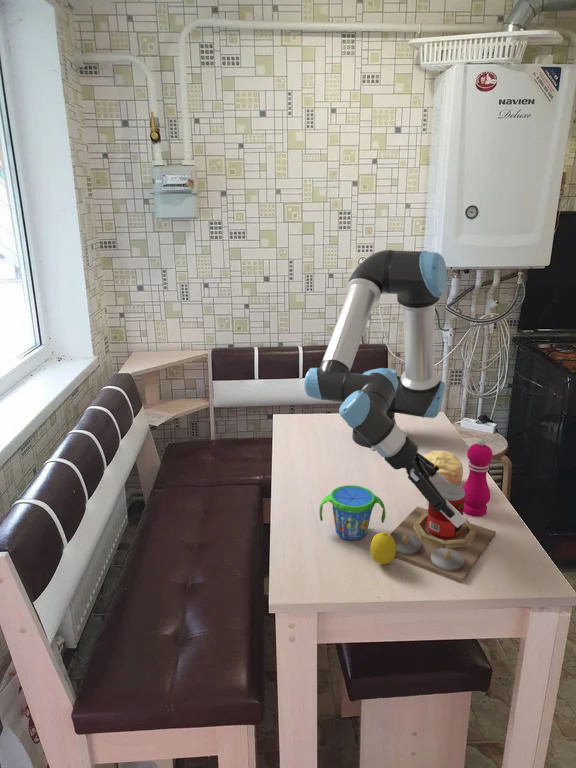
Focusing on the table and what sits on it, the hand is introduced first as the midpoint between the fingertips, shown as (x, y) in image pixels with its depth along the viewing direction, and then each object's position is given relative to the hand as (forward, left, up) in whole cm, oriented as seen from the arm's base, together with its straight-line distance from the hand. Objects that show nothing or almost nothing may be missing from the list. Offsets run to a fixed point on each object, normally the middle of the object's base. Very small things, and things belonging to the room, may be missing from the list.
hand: (456, 507), depth 139 cm
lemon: (+20, -9, -8) cm, 23 cm away
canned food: (+1, -2, -7) cm, 7 cm away
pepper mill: (-14, 0, -8) cm, 16 cm away
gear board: (+5, -2, -7) cm, 9 cm away
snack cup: (+13, -21, -8) cm, 25 cm away
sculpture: (-21, -12, -8) cm, 25 cm away
